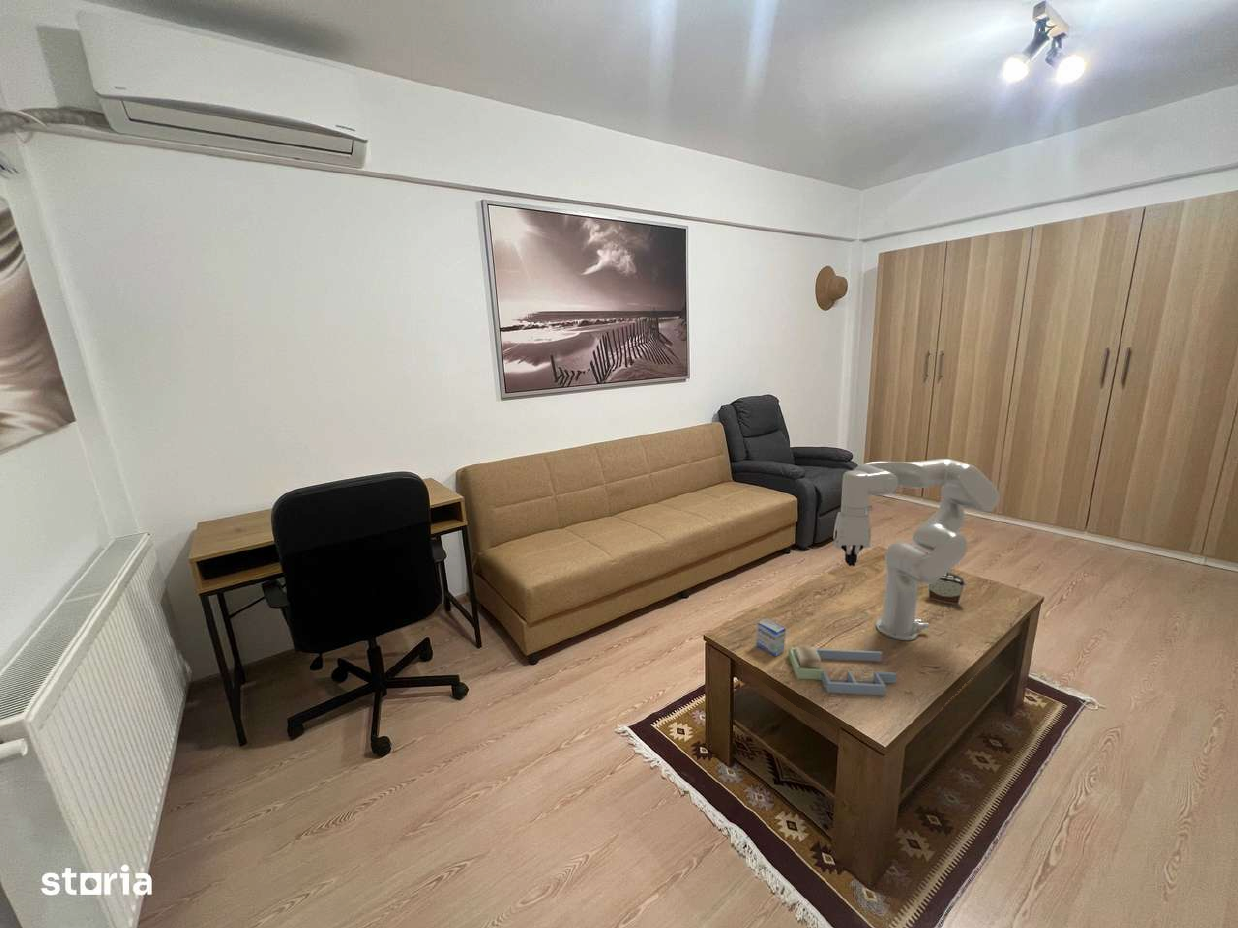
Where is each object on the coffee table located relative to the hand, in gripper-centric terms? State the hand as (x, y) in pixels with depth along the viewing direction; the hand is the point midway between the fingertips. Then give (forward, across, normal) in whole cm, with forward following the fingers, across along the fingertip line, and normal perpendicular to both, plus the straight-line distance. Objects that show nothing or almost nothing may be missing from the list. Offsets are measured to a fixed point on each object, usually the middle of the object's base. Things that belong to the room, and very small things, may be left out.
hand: (850, 564), depth 158 cm
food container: (+29, -47, -30) cm, 63 cm away
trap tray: (+27, +7, +18) cm, 34 cm away
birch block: (+27, +17, +15) cm, 35 cm away
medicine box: (+27, +26, +6) cm, 38 cm away
